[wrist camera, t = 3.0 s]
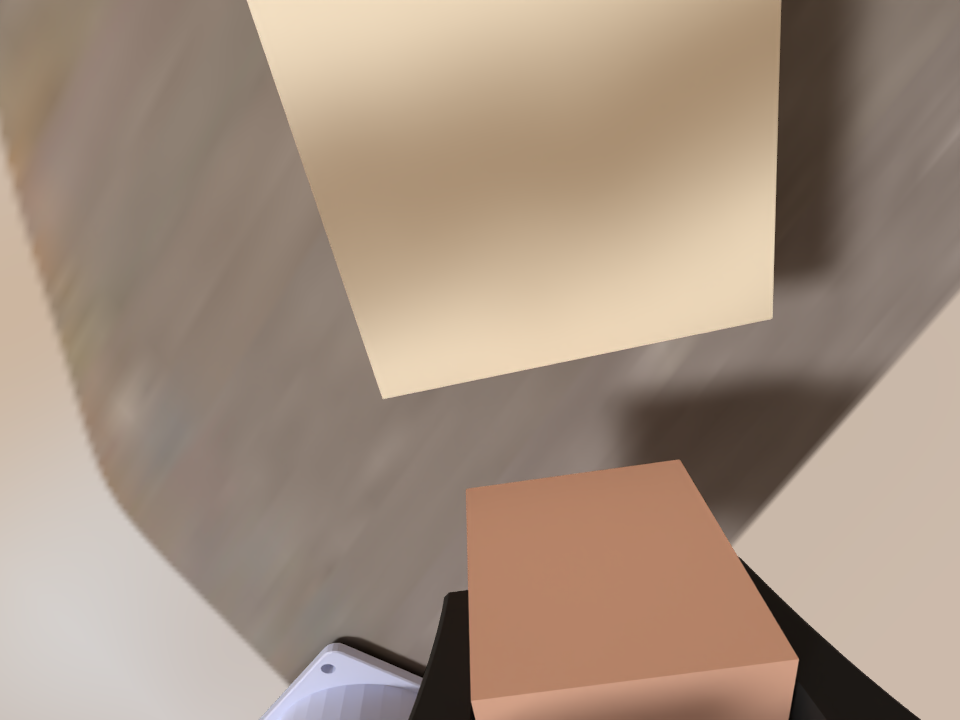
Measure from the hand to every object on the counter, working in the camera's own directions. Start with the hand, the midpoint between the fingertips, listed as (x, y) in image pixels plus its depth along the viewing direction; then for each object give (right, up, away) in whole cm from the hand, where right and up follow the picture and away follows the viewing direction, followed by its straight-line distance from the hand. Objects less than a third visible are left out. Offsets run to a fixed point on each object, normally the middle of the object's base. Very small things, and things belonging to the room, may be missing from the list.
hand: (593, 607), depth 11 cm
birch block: (-1, +10, +2) cm, 11 cm away
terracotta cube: (0, +1, +1) cm, 2 cm away
